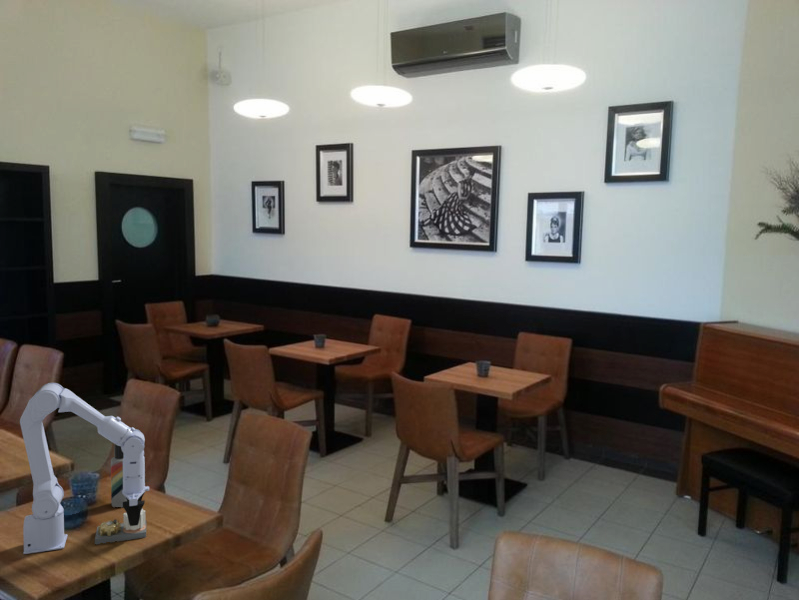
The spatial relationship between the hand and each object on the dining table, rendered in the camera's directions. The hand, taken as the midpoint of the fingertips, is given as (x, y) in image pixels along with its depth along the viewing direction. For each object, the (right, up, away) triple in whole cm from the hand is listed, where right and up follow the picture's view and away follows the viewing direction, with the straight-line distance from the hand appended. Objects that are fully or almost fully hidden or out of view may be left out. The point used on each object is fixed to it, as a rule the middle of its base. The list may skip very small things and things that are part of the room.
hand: (134, 520), depth 172 cm
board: (-3, -4, -1) cm, 5 cm away
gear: (-6, -2, -2) cm, 7 cm away
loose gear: (0, -2, 0) cm, 2 cm away
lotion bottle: (-13, -2, +19) cm, 23 cm away
